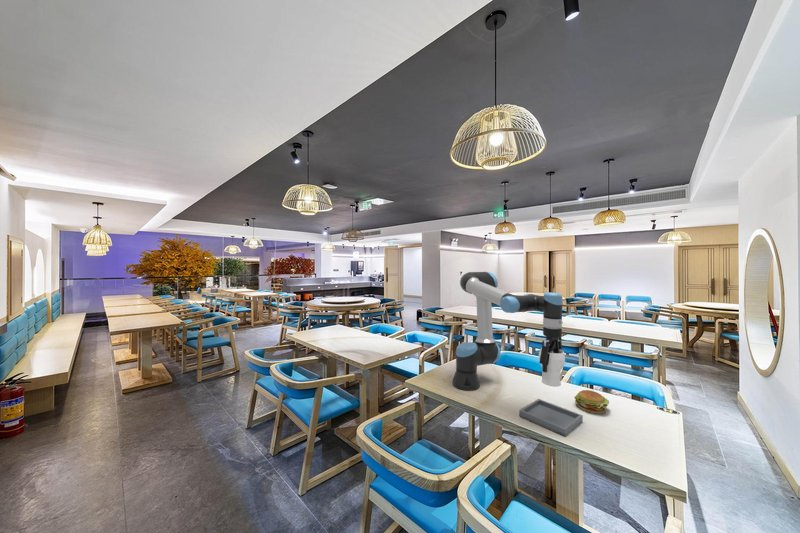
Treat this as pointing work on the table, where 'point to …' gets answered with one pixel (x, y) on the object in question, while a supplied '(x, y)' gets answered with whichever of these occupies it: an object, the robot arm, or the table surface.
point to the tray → (551, 417)
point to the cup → (554, 368)
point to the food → (591, 401)
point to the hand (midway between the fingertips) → (551, 375)
